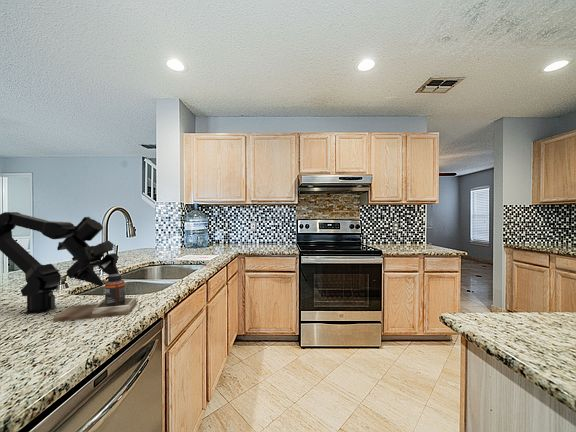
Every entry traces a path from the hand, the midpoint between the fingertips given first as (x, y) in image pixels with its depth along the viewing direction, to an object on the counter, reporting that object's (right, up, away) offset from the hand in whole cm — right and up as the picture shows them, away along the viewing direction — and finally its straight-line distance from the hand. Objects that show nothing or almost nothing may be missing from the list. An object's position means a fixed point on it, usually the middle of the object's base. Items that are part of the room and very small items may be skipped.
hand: (111, 281), depth 97 cm
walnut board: (-4, -10, -1) cm, 11 cm away
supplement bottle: (+1, -9, 0) cm, 9 cm away
